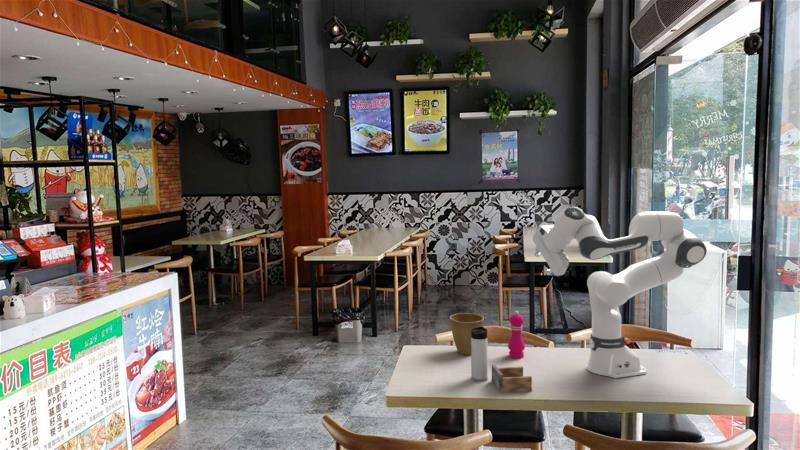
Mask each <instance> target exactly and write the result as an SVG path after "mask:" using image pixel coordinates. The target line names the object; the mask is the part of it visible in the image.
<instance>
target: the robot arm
mask: <svg viewBox="0 0 800 450" xmlns="http://www.w3.org/2000/svg"><path fill="white" fill-rule="evenodd" d="M574 239H575V240H576V241H577V242H576V243H577V244H578V248H579V252H580V255H581V256H582V257H583V258H585V259H588V260H592V261H595V260H599V259H603V258H605V257H607V256H611V255H612V256H613V255H616V254H622V253H626V252H631V251H635V250H636V251H637V250H639V249H642V248H644V247H645V246H646V245H647V244H648V243H649V242H652V241H658V242H659V244H660V246H661V247H662V248H663V249H665V251H664V252H662V253H661V254H659V255H657V256H653V257H650V258H648V259H644V260H642V261H639V262H636V263H635V262H634V263H633V264H630V265H628V267H626V268H625V269H623V270H622V271H620V272H618V273H615V274H614V273H613V274H612V273H610V272H608V271H603V270H600V271H599V270H598V271H594V272H592V273H591V274H590V275H588V278H587V280H586V281H587V282H586V285H587V288H588V293H589V294H588V295H589V303H590V309H591V333H590V340H589V341H590V342H589V345H590V347H589V348H590V352H589V353H590V354H589V359H588V362H587V366H586V369H587V370H588V371H589V372H590V373H592V374H596V375H598V376H599V375H600V376H605V377H609V378H613V379H619V378H627V377H634V376H638V375H639V376H640V375H646V374H647V368H646V367H645V366H643V365H642V364H641V359H640V357H639V355H638V354H637V353H636V352H635V351H634V350H632V349H631V348H630V347H628V346H627V345H629V344H630V343H631V339H630V338H628V337H625V336H623V335H622V315H621V312H620V307H619V306H622V305H624V304H625V303H627V301H628V300H629V299H630V298H632V297H634V296H636V295H638V294H639V293H642V292H645V291H647V290H650V289H653V288H655V287H659V286H662V285H664V284H667V283H669V282H671V281H674V280H675V279H678V278H679V277H680V276H681V275H682V274H683V273H684V269H689V268H691V267H693V266H696V265H697V264H699V263H700V262H701V261H703V260H704V258H705V257H706V255H707V251H708V250H707V247H706V244H705V243H704V241H702V239H700V238H698V237H697V235H695V234H694V233H693V232H691V231H689V230H687V229H685V228H684V220H683V218H682V216H681V215H679V214H678V213H675V212H670V211H663V210H660V211H658V210H655V211H653V210H652V211H642V212H639V213H637V214H636V215H634V216H633V217H632V219H631V221H630V223H629V226H628V235H627V236H623V237H618V238H613V239H608V238H607V237H606V236H605V235H604V232H603V230H602V229H601V225H600V223H599V222H598V220H597V218H596V217H595V216H594V215H591V214H588V213H587V214H586V213H585V212H584V211H583V209H581V208H579V207H578V206H568V207H566V208H564V210H562V212H561V213H559V214H558V217H557V218H556V220H555V221H554V223H553V224H543V225H539V226H538V229H537V230H536V231H535V232H534V234H533V235H532V241H533V243H534V244H535V251H534V254H533V255H534V256H535V258H539V257H540V255H541V256H542V257H543V259H544V261H545V262H546V263H547V265H548V266H549V268H548V269H546V270H545V274H546V275H547V276H550V275H551V274H552V273H553V275H554V276H558V277H559V276H563V275H565V273H566V271H567V269H568V268H569V266H570V261H569V260H570V258H569V256H568V255H567V254H566V250H567V248H568V246H569V245H570V244H571V242H572V240H574Z"/></svg>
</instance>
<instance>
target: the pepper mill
mask: <svg viewBox="0 0 800 450" xmlns="http://www.w3.org/2000/svg"><path fill="white" fill-rule="evenodd" d="M509 323H510V330H511V337H510V338H509V341H508V343H507V348H508V350H509V352H508V356H509V358H512V359H522V358H524V357H525V352H524V351H525V349H526V344H525V341H524V339H523V335H522V331H523V324H524V316H522V315H521V314H519V311H518V310H515V311H514V314H512V315H511V316H510V317H509Z"/></svg>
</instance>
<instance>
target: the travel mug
mask: <svg viewBox="0 0 800 450" xmlns="http://www.w3.org/2000/svg"><path fill="white" fill-rule="evenodd" d="M470 358H471V361H470V362H471V364H470V366H471V367H470V368H471V369H470V370H471V371H470V372H471V373H470V374H471V375H470V377H471V380H472V381H474V382H480V383H481V382H486V381H487V380H488V375H489V373H488V329H487V328H485V327H484V326H483V327H477V328H473V329H472V330H471V355H470Z"/></svg>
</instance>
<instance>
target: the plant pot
mask: <svg viewBox="0 0 800 450" xmlns="http://www.w3.org/2000/svg"><path fill="white" fill-rule="evenodd" d="M484 320H485V318H484V316H482V315H481V314H476V313H470V312H469V313H466V312H464V313H463V312H459V313H455V314H452V315H450V316H449V322H450V323H449V324H450V328H451V329H450V330H451V333H452V337H453V340H454V344H455V347H456V351H457V352H459V353H460V354H459V353H458V354H459V355H462V354H465V355H464V356H471V330H472V329H473V328H477V327H484Z"/></svg>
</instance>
